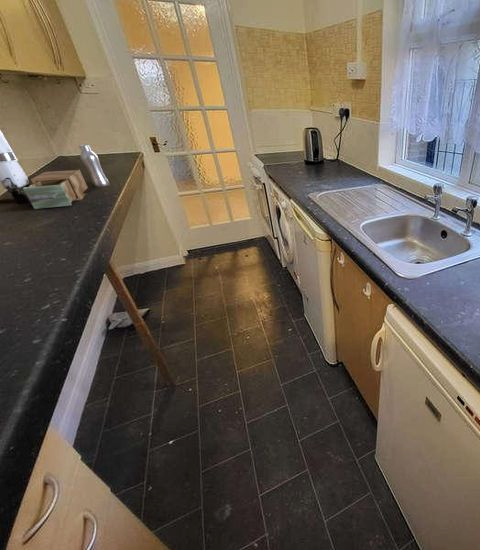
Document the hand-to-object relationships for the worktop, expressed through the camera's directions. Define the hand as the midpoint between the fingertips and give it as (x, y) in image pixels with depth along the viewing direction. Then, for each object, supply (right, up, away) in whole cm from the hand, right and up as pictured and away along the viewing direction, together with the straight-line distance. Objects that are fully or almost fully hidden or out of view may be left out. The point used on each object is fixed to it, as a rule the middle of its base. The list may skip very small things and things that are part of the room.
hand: (28, 200), depth 124 cm
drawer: (+13, -2, -1) cm, 13 cm away
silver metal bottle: (+11, +12, +23) cm, 28 cm away
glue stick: (0, -1, +1) cm, 2 cm away
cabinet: (+6, +4, +11) cm, 13 cm away
